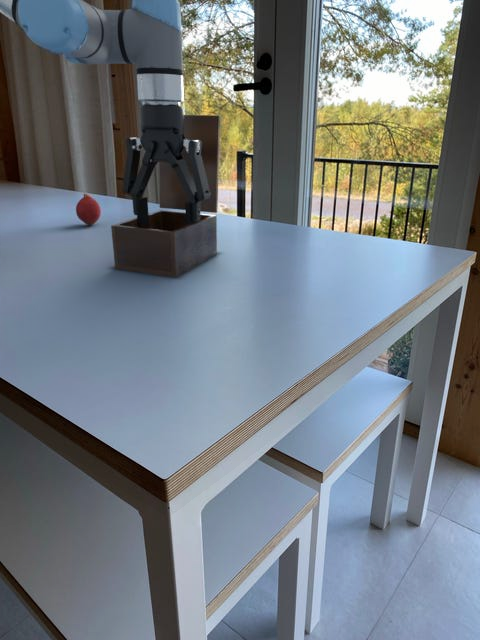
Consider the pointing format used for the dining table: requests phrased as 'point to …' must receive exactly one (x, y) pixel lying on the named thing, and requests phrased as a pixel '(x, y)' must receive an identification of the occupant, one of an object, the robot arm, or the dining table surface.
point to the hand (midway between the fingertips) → (167, 235)
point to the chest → (164, 243)
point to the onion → (88, 210)
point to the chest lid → (169, 183)
